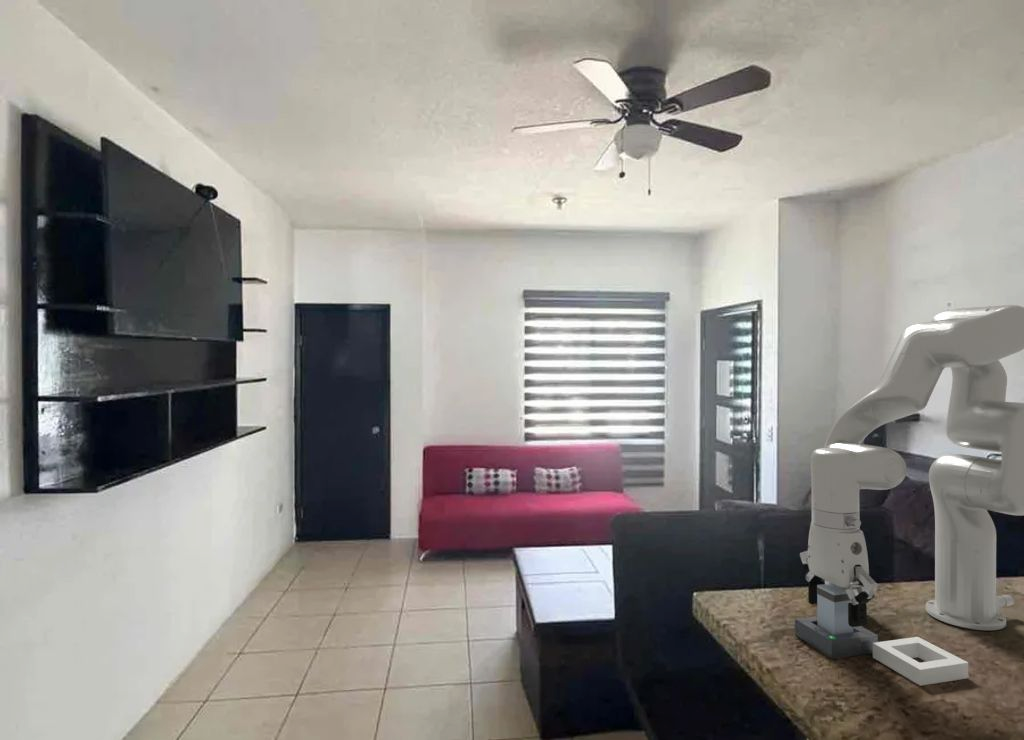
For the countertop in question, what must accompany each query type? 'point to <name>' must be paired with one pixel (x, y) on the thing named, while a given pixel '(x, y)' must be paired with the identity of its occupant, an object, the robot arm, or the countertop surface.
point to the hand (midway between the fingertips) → (836, 613)
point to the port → (835, 639)
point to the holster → (932, 671)
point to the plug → (833, 609)
